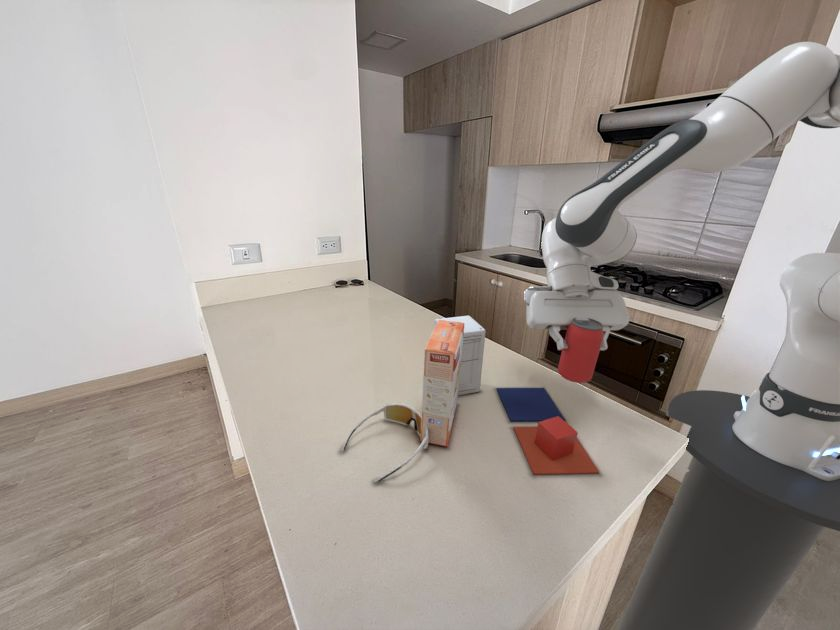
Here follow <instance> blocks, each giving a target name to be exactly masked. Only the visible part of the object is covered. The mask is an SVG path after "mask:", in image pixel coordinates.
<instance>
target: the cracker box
mask: <svg viewBox="0 0 840 630" xmlns="http://www.w3.org/2000/svg"><path fill="white" fill-rule="evenodd" d="M463 335H464V323H461V322H454V321H445V320H438V322H437V324H436V327H435V326H434V329H433V331H432V333H431V334H430V338H429V339H428V342H427V344H426V345H425V348H424V357H423V380H422V399H421V415H422V416H421V438H420V440H419V441H420V442H421V443H422V441H423V440H424V438H425V436H426V430H425V426H427V428H428V437H429V441H428V444H432V445H437V446H442V447H449V443H450V442H449V441H450V436H451V432H452V429H453V423H454V419H455V414H456V409H457V404H458V396H459V395H458V386H459V377H460V367H461V356H462V345H463ZM457 395H458V396H457Z"/></svg>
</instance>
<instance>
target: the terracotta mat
mask: <svg viewBox="0 0 840 630" xmlns="http://www.w3.org/2000/svg"><path fill="white" fill-rule="evenodd" d="M537 427H538V426H513V430H514V433H515V435H516V438H517V440H518V442H519V445H520V447H521V450H522V451H523V454H524V456H525V458H526V461H527V463H528V465H529V467H530V470H531V472H532V475H533V476H537V475H538V476H540V475H541V476H542V475H543V476H544V475H545V476H546V475H549V476H550V475H590V474H591V475H593V474H595V475H596V474H600V471H599V469H598V468H597V466H596V465H595V463H594V461H593V460H592V459H591V457H590V456H589V454H588V453H587V451H586V449H585V448H584V447H583V444H582V443H581V442H580V441H579V438H578V437H577V438H576V442H575V446H574V450H573V453H571V454H569V455H566V456H563V457H560V458H558V459H555V460H552V459H551V458H550V457H549V456H548V455H547V454H546V453H545V452H544V451H543V450H542V449H541V448H540V447H539V446H538V445H537V444H536V443H535V437H536V432H537Z"/></svg>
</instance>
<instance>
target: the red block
mask: <svg viewBox="0 0 840 630" xmlns="http://www.w3.org/2000/svg"><path fill="white" fill-rule="evenodd" d="M537 422H538V423H537V426H536V427H537V432H536V437H535V443H536V444H537V445H538V446H539V447H540V448H541V449H542V450H543V451H544V452H545V453H546V454H547V455H548V456H549V457H550V458H551V459H552V460H555V459H558V458H560V457H563V456H566V455H569V454H571V453H573V450H574V446H575V442H576V438H577V439H578V434H579V432H578V431H577V430H576V429H575V428H573V427H572V426H571V425H570V424H568V423H567V422H566V420H565V421H564V420H562V419H561V418H560V417H559V416H557V417H554V418H550V419H547V420H544V421H537Z"/></svg>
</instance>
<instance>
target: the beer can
mask: <svg viewBox="0 0 840 630" xmlns="http://www.w3.org/2000/svg"><path fill="white" fill-rule="evenodd" d="M575 319H576V318H574V319H572V322H571V324H570V325H569V326H568V328H567V330H566V332H565V336H564V339H567V341H568V343H567V344H568V346H569V347H568V349H566V350H561V354H560V357H559V362H558V366H557V373H558V374H559V375H560V376H561V378H563V379H565V380H567V381H569V382H572V383H575V384H585V383H589V382H591V380H592V379H593V375H594V372H595V369H596V365H597V361H598V358H599V354H600V352H601V350H600V348H601V344H602V341H603V325H602V324H601V323H600V322H598V321H596V320H593V319H590V318H588V319H589V320H590V321H589V320H575Z"/></svg>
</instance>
